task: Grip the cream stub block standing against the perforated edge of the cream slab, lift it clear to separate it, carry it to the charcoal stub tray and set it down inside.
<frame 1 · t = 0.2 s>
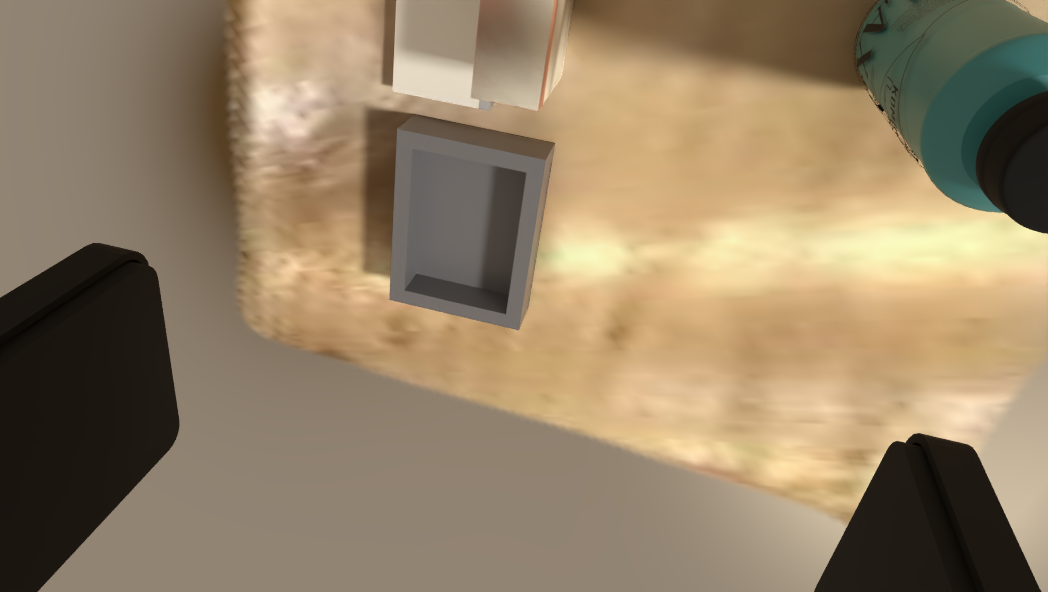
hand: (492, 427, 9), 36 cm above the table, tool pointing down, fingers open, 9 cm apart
tray: (474, 215, 49), on the table
beverage bottle: (913, 35, 38), on the table
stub: (541, 8, 41), on the table
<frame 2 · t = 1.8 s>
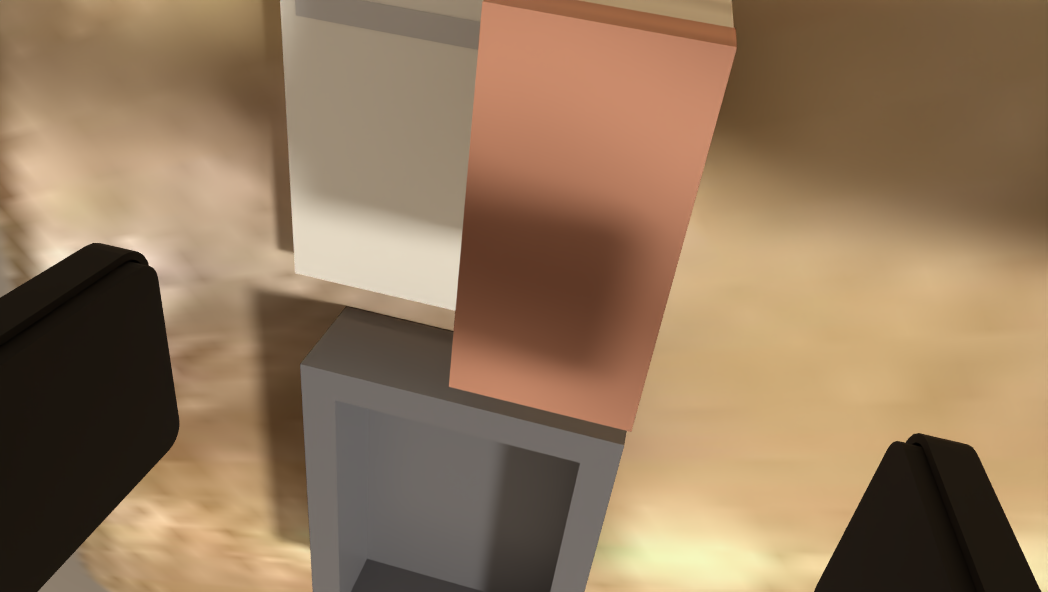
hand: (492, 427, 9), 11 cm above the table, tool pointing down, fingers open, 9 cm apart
tray: (470, 479, 25), on the table
cream slab: (415, 75, 18), on the table
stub: (617, 114, 18), on the table
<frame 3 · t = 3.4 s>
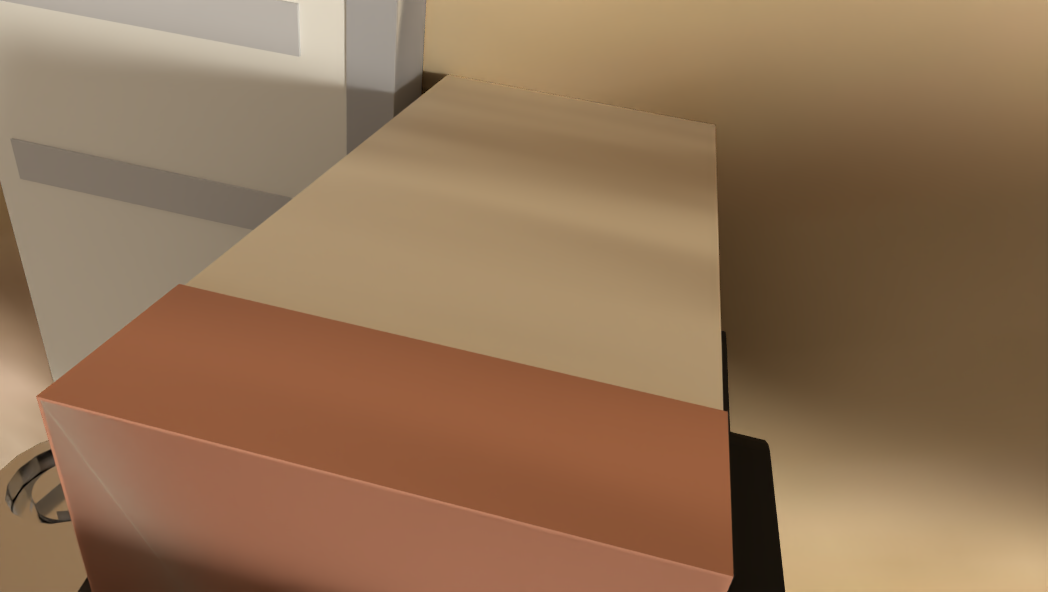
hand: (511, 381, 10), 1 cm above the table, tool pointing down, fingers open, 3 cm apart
cream slab: (232, 256, 12), on the table
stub: (541, 323, 11), on the table, touching gripper
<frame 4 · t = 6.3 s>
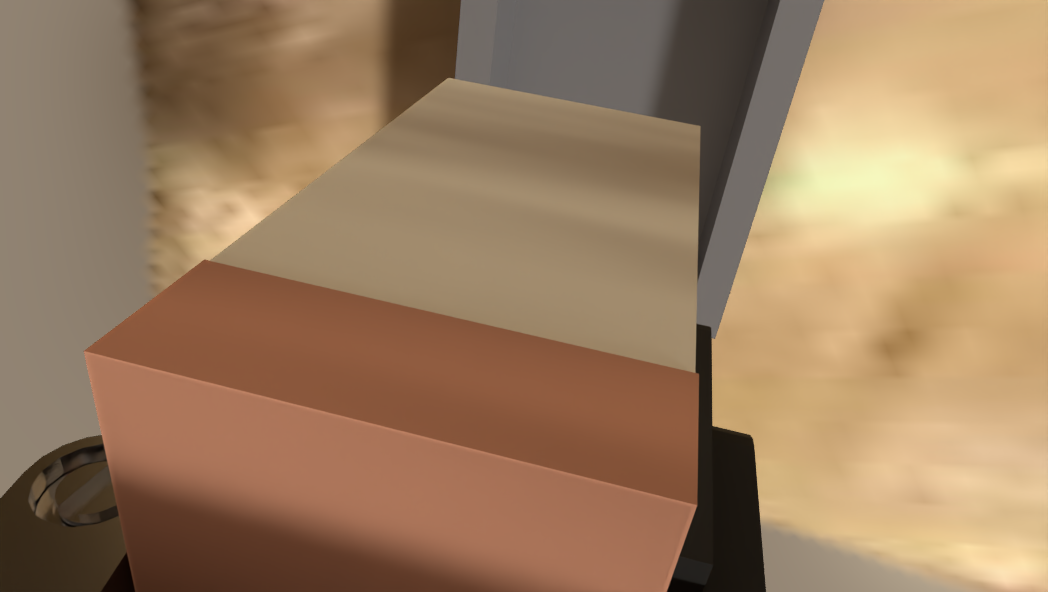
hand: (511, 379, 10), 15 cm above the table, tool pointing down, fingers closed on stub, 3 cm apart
tray: (620, 97, 23), on the table
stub: (536, 317, 12), point 13 cm above the table, touching gripper
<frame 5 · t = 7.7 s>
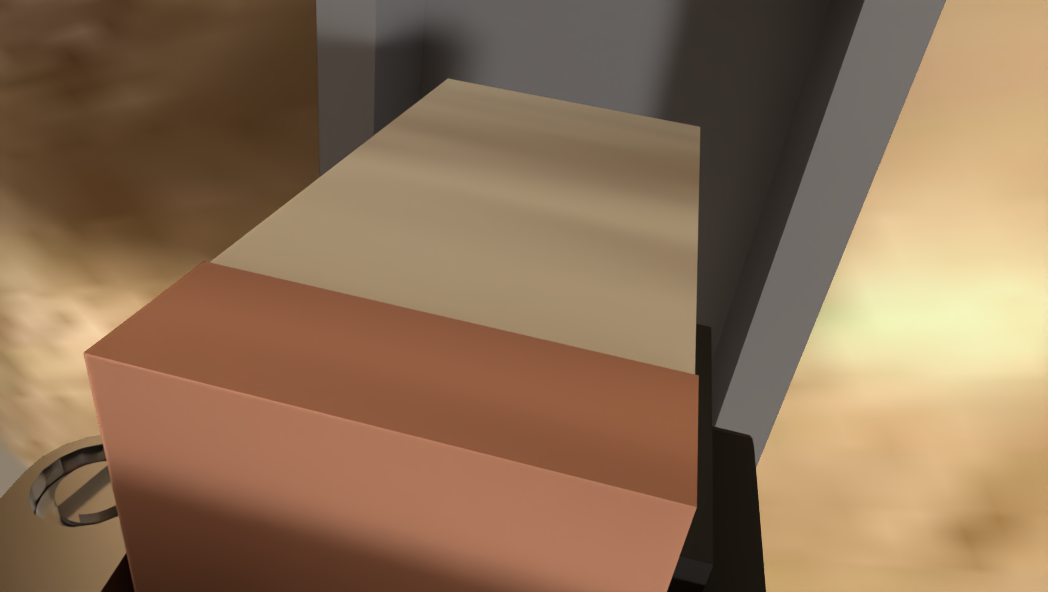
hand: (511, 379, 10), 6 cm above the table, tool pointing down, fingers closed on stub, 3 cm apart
tray: (584, 193, 16), on the table
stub: (535, 317, 12), point 5 cm above the table, touching gripper
when the fingers open (3 cm above the table, at t = 9.0 s): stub stays where it is, resting on tray.
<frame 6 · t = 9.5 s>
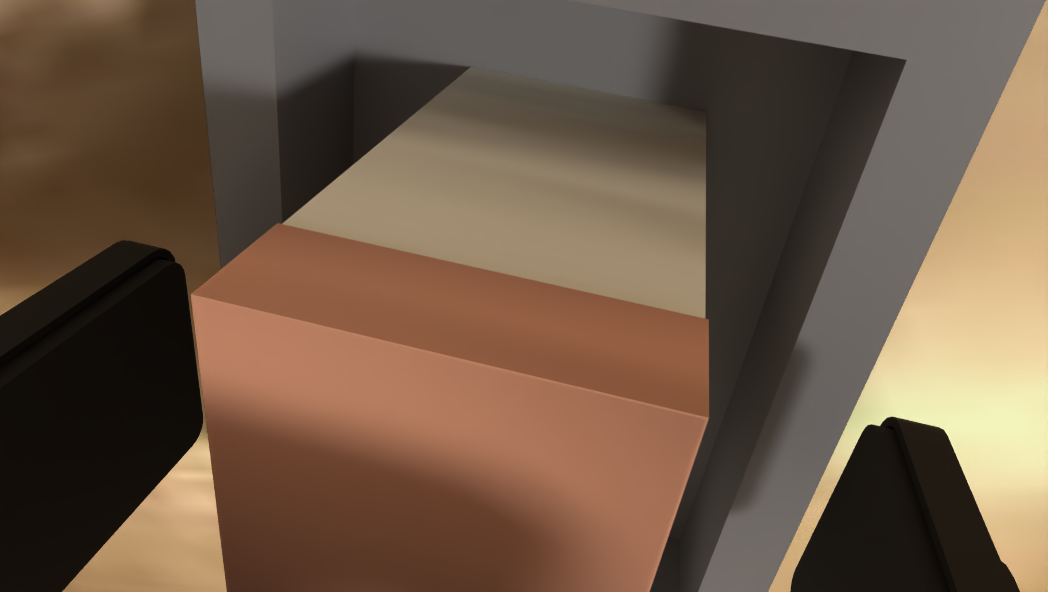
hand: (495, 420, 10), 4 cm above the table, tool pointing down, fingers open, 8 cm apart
tray: (552, 272, 13), on the table
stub: (550, 292, 13), point 1 cm above the table, touching tray
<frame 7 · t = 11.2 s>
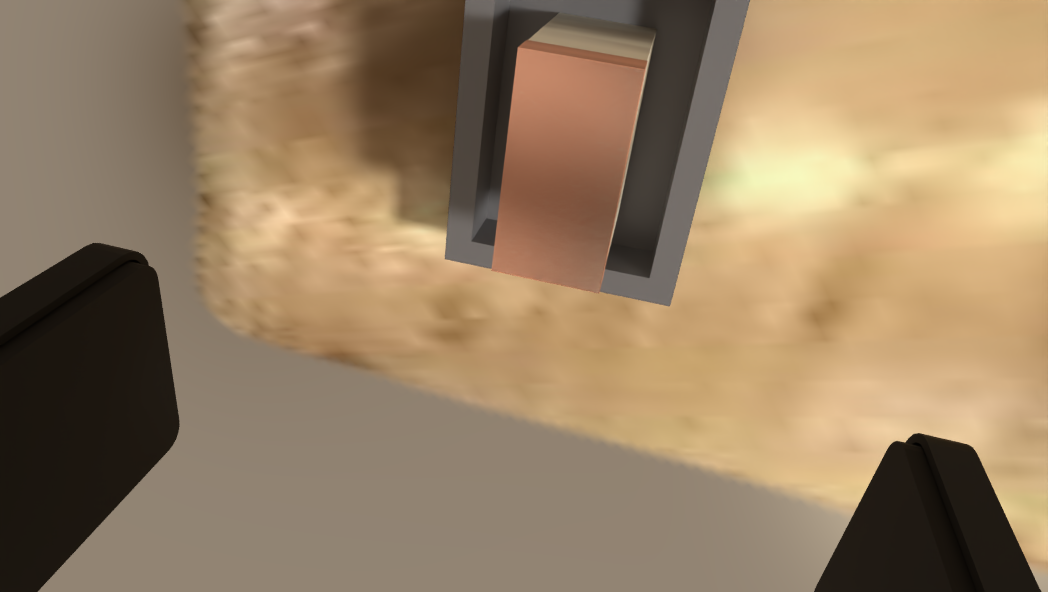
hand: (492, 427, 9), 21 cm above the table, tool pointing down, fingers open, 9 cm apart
tray: (590, 111, 28), on the table
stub: (590, 117, 28), point 1 cm above the table, touching tray
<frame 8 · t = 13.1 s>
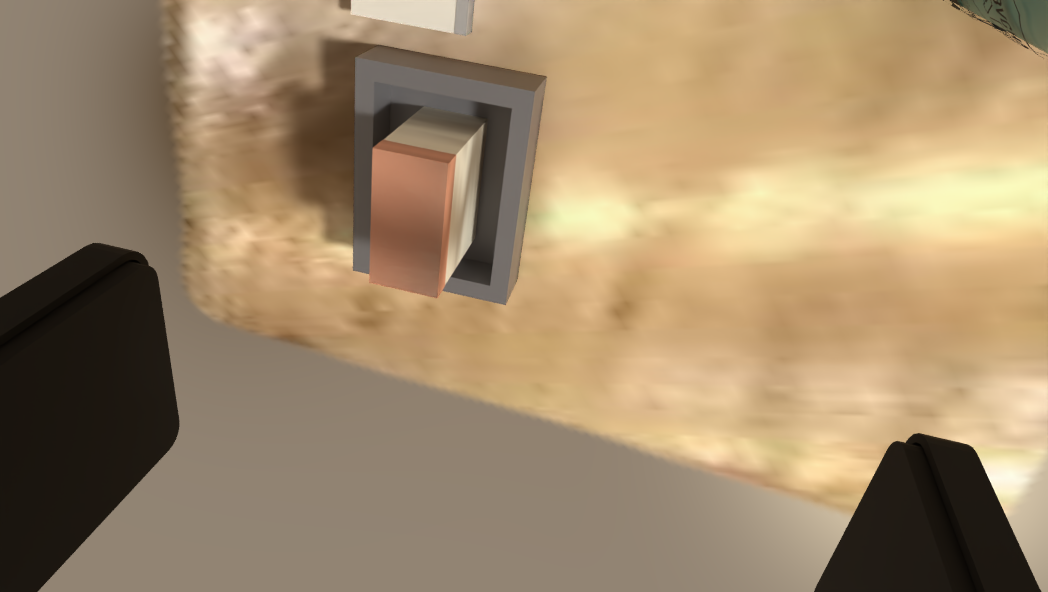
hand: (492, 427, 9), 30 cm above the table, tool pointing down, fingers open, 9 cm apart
tray: (452, 169, 41), on the table
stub: (450, 174, 41), point 1 cm above the table, touching tray
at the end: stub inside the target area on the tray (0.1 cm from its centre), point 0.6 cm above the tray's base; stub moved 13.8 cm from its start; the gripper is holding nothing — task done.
